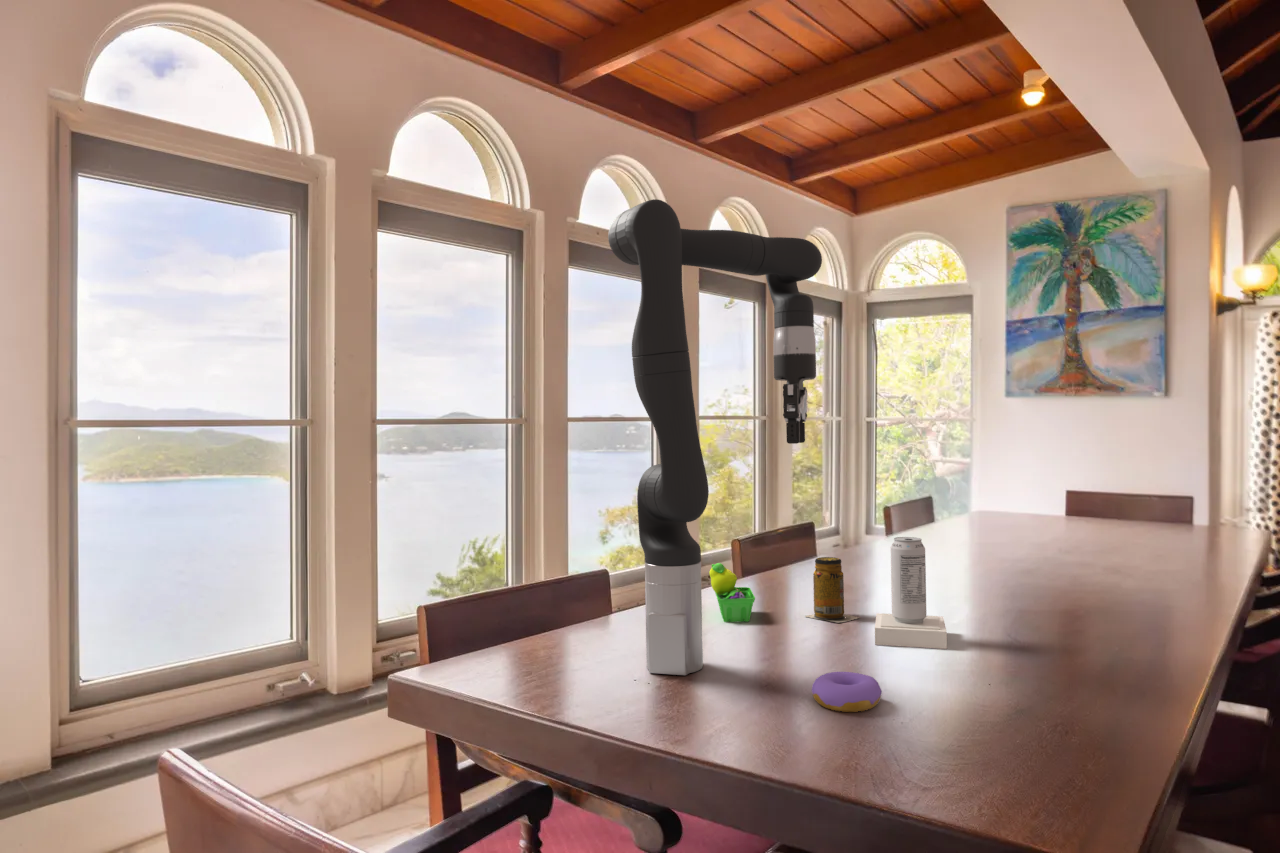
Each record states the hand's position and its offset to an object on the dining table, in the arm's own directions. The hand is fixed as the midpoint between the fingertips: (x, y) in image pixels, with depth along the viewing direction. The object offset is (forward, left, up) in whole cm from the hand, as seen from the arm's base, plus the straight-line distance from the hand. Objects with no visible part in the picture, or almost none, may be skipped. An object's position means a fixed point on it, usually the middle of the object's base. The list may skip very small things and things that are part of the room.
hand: (796, 443), depth 150 cm
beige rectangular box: (+8, -19, -36) cm, 42 cm away
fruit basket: (+18, +16, -36) cm, 44 cm away
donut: (-31, -10, -36) cm, 49 cm away
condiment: (+22, -4, -36) cm, 43 cm away
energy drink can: (+8, -19, -33) cm, 39 cm away
